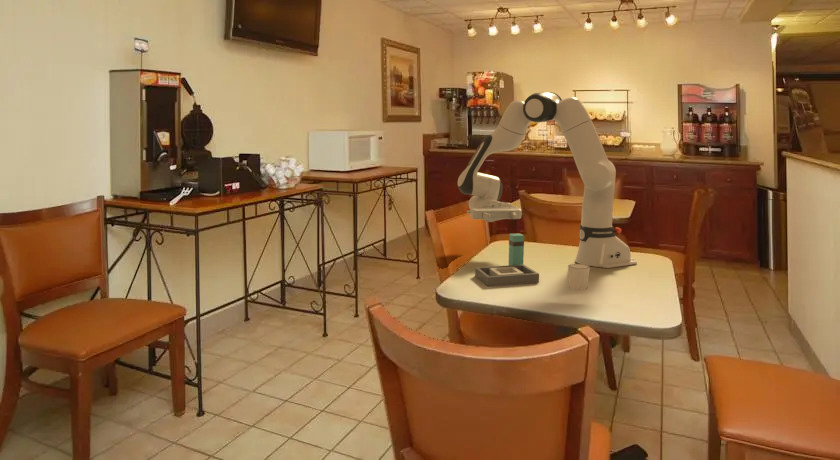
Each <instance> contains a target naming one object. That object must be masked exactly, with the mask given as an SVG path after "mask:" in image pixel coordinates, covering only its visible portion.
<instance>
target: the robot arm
mask: <svg viewBox="0 0 840 460" xmlns="http://www.w3.org/2000/svg"><path fill="white" fill-rule="evenodd" d="M550 121H555V122H556V123H557V124H558V126H559V128H560V130H561V132H562V134H563V136H564V139H565V141H566V143H567V145H568V147H569V149H570V152H571V155H572V157H573V159H574V163H575V165H576V168H577V171H578V173H579V176H580V179H581V181H582V182H583V185H584V186H583V187H584V188H583V197H582V203H581V222H580V225H579V244H578V249H577V253H576V256H575V260H574V262H576V264H584V265H588V266H590V267H595V268H596V267H597V268H603V269H611V268H618V267H624V266H632V265H637V264H638V260H636V259H635V258H633V257H632V256H631V255H632V254H631V249H630V247H629V245H628V244H627V243H626V242H624V241H623V240H622V239H620V238H619V237H618V236H616V233H617V234H621V233H622V228H620V227H617V226H616V227H615V226H613V212H614V198H615V190H616V189H615V188H616V174H617V171H616V170H617V169H616V167H615V166H616V165H615V164H614V163H613V162H612V161H611V160H609V159H608V156H607V154H606V152H605V151H606V150H605V148H604V146H603V144H602V140H601V138H600V136H599V134H598V132H597V129H596V127H595V125H594V123H593V120H592V119H591V117H590V115H589V113H588V111H587V109H586V108H585V106H584V105H583V103H582V101H580V99H578V98H577V97H567V98H564V99H562V98H561V96H560V95H559V94H557V93H555V92H551V91H549V92H547V91H539V92H536V93H535V92H534V93H532V94H530V95H529V96H528V97H527V98H526V99H525V100H524V101H523V100H513V101H511V102H510V103H509V104H508V106H507V108H506V109H505V111H504V112H503V115H502V116H501V118H500V121H499V123H498V125H497V127H496V128H495V130H493V132H491V133H490V134H488V135H486V136H484V138H482V141H480V143H479V145H478V146H477V149H476V150H475V152H474V153H473V155H472V157H471V158H470V159H469V162H468V163H467V164H466V166H465V168H464V169H463V170H462V171H461V173H460V174H459V176H458V178H457V183H456V184H457V185H456V186H457V188H458V190H459V191H460V193H461V194H462V195H470V196H471V197H470V199H469V200H468V207H469V210H466V213H467V214H469V216H470V218H471V219H473V220H484V221H485V222H488V223H493V222H495V221H496V222H497V221H502V220H520V219H521V218H522V214H523V212H522V210H523V209H521V208H519V207H518V206H516V205H512V202H508V201H500V199H501V197H502V194H503V189H504V187H503V184H502V181H501V180H502V179H500V177H499V176H496V175H491V174H489V173H483V172H479V170H480V168H481V166H482V165H483V163H484V161H485V160H486V159H487V157H488V156H490V155H492V154H495V153H500V152H509V151H512V150H515V149H516V148H518V147H519V146H520V145H521V144H522V142H523V139H524V138H525V135H526V133H527V130H528V129H529V127H530V125H531V123H532V122H534V123H546V122H550Z"/></svg>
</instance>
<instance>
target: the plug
mask: <svg viewBox="0 0 840 460" xmlns="http://www.w3.org/2000/svg"><path fill="white" fill-rule="evenodd" d="M508 237H509V238H508V265H523V264H524V256H525V255H524V254H525V253H524V251H525V249H524V247H525V235H524V234H522V233H518V232H517V233H509V234H508Z"/></svg>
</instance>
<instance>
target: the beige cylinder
mask: <svg viewBox="0 0 840 460" xmlns="http://www.w3.org/2000/svg"><path fill="white" fill-rule="evenodd" d="M567 269H568V270H567V273H568V276H567V277H568V287H569V288H570V289H572V290H586V289H587V288H588V283H589V277H590V269H591V266H588V265H584V264H579V263H571V264H568V265H567Z"/></svg>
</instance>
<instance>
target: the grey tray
mask: <svg viewBox="0 0 840 460" xmlns="http://www.w3.org/2000/svg"><path fill="white" fill-rule="evenodd" d="M474 272H475V273H474V276H475V277H476V278H477V279H479V281H480V282H482V283H483V284H484V285H485V286H487V287H495V286H496V287H497V286H510V285H511V286H512V285H522V284H537V283H540V273H539V272H537V271H535V270H534V269H532V268H530V267H529V266H527V265H525V264H524V263H523V265H509V264H508V265H496V266H495V265H494V266H482V267H481V266H480V267H479V266H478V267H475V268H474Z"/></svg>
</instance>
